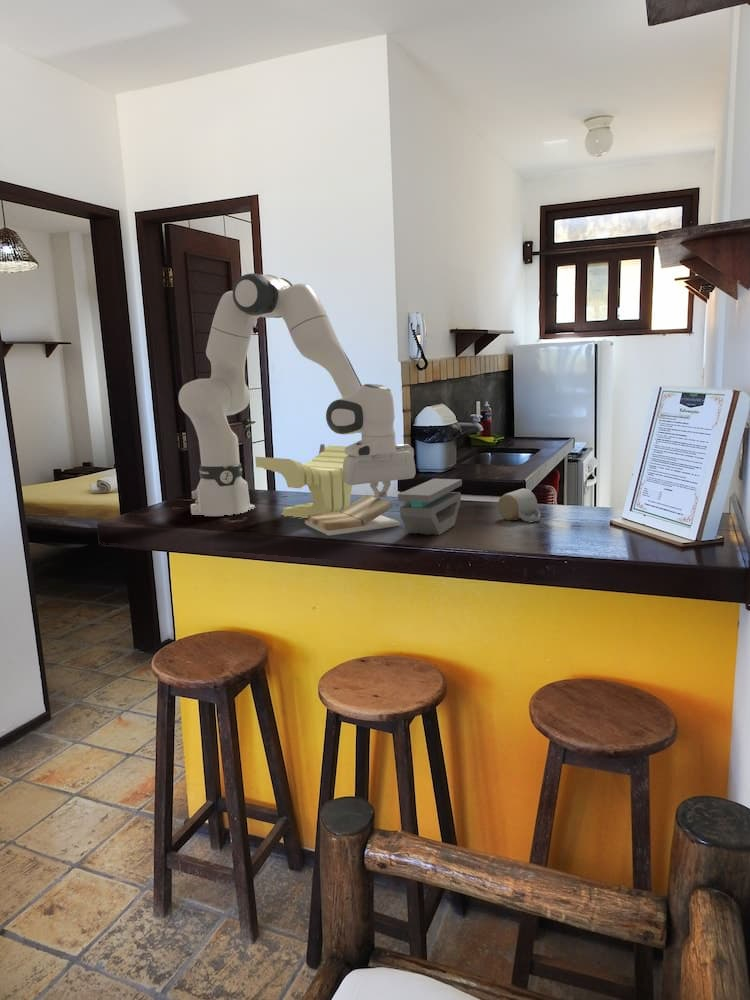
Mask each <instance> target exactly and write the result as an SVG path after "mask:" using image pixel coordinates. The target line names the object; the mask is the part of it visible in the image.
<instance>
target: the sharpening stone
mask: <svg viewBox="0 0 750 1000" xmlns="http://www.w3.org/2000/svg"><path fill="white" fill-rule="evenodd" d="M462 485H463V479H459V478H458V479H457V478H432V479H429V480H428V481H425V482H423V483H420V484H417V485H416V486H413V487H410V488H409V489H406V490H405V491H402V492H400V493H398V494H397V501H399V502H408V503H405V504H404V505H401V506H400V507H399V510H400V512H399V513H400V515H399V516H400V518H401V520H402V522H403V523H404V525H405V527H406V529H407V531H408V532H409V534H417V533H420V534H419V535H421V534H422V535H431V534H434V536H441V535H443V534H444V533H445V532H446V530H447V531H448V530H450V529H451V528H452V526H453V527H454V526H455V524H456V520H457V517H458V512H459V509H460V505H461V500H462V499H461V498H462V496H461V495H462V494H461V492H456V491H455V492H453V491H454V490H455V489H458V488H459V487H462ZM449 528H450V529H449ZM443 532H444V533H443ZM440 534H441V535H440Z"/></svg>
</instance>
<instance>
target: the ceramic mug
mask: <svg viewBox="0 0 750 1000" xmlns="http://www.w3.org/2000/svg"><path fill="white" fill-rule="evenodd" d="M497 501H498V502H497V510H498V512H499V515H500V516H501V517H502V518H503V519H505V520H506V519H509V520H508V521H516V520H515V519H517V520H522V521H525V522H526V521H537V520H540V518H541V513H540V511H539V510H538V509H537V508H538V500H537V497H536V495H535V494H534V493H533V492H532V491H531V490H530V489H528V488H520V489H519V488H518V489H517V490H514V491H511V492H507V493H504V494H503V495H501V497H500V498H499V499H498V500H497ZM529 516H530V517H529ZM532 516H535V517H532ZM520 518H521V519H520Z"/></svg>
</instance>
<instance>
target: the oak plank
mask: <svg viewBox="0 0 750 1000" xmlns="http://www.w3.org/2000/svg"><path fill="white" fill-rule="evenodd" d="M307 520H308V521H309V522H311V523H313V524H315V525H317V526H319V527H322V528H324V529H326V530H328V531H331V530H338V529H345V528H352V527H360V526H361V520H359V519H356V518H354V517H351V516H349V515H346V514H344V513H341V512H332V513H324V514H316V515H308V519H307Z"/></svg>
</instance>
